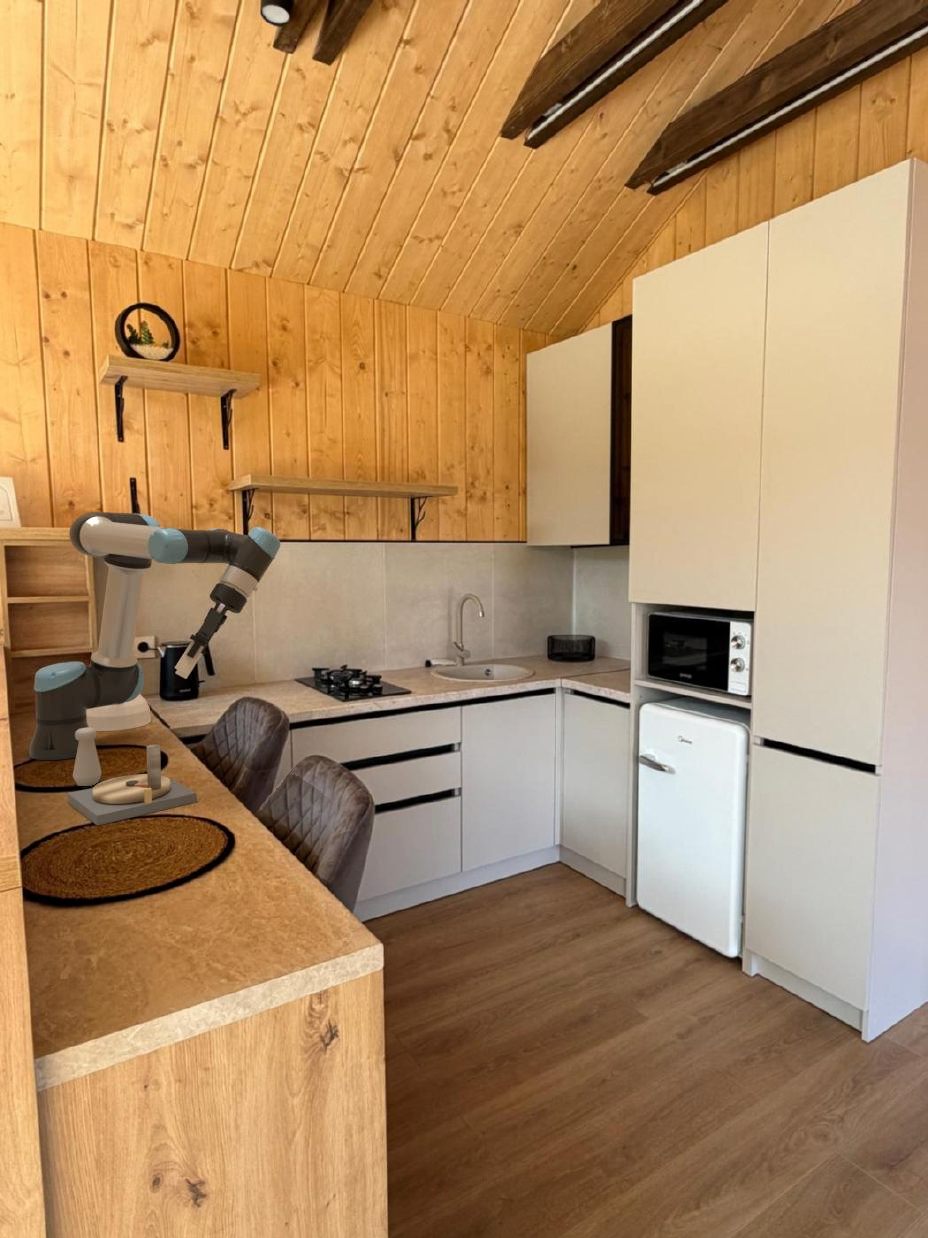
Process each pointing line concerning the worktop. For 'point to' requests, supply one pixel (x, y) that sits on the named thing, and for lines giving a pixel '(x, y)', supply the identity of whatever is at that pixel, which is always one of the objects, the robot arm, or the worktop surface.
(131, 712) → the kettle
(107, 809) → the stand base
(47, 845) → the worktop surface
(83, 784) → the salt shaker
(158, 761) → the dial
